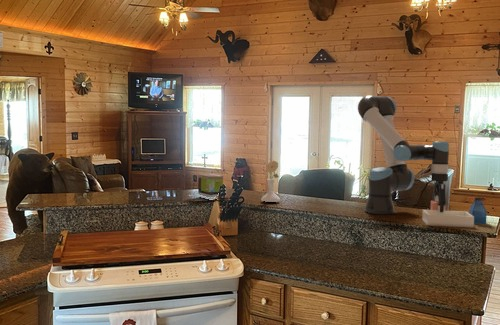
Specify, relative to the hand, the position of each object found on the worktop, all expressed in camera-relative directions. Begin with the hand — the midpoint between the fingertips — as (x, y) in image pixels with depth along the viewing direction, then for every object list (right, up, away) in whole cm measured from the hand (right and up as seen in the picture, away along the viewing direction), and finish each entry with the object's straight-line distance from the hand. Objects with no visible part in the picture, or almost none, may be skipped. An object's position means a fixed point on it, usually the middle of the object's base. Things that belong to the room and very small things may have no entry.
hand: (438, 216), depth 233 cm
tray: (0, -2, -11) cm, 11 cm away
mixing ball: (0, +9, 0) cm, 9 cm away
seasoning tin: (0, -1, +1) cm, 1 cm away
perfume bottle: (+16, -2, -7) cm, 17 cm away
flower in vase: (-80, +3, +44) cm, 92 cm away
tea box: (-117, +4, +57) cm, 130 cm away
